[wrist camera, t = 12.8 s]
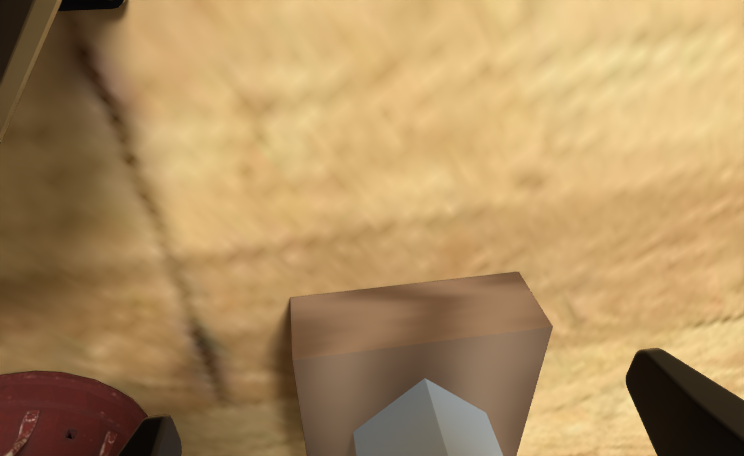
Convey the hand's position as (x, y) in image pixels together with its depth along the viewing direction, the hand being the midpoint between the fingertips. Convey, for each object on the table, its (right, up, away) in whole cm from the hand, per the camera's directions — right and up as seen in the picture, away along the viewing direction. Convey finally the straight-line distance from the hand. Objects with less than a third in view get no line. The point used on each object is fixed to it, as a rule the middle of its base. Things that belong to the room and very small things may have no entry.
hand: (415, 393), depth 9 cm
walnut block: (+1, -5, +19) cm, 20 cm away
